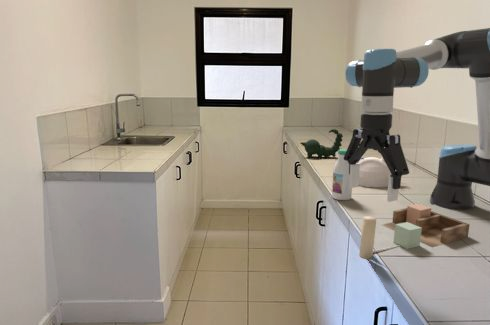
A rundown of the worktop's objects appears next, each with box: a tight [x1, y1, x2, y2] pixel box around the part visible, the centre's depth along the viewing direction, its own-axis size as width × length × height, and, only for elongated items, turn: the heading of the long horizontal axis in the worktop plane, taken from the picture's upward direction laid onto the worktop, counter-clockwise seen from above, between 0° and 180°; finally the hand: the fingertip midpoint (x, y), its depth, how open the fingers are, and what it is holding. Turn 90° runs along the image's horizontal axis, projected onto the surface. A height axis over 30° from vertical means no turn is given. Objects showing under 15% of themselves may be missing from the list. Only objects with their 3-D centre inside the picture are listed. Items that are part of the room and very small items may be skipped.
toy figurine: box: [300, 128, 344, 159], centre depth 232 cm, size 9×19×25 cm
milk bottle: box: [331, 148, 353, 201], centre depth 152 cm, size 8×8×20 cm
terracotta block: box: [406, 203, 432, 225], centre depth 124 cm, size 5×5×6 cm
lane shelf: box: [382, 207, 471, 248], centre depth 119 cm, size 16×19×5 cm
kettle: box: [356, 156, 392, 189], centre depth 177 cm, size 20×21×18 cm
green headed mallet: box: [358, 215, 422, 260], centre depth 106 cm, size 20×5×11 cm, turn 116°
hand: (372, 193), depth 100 cm, fingers open, 13 cm apart
